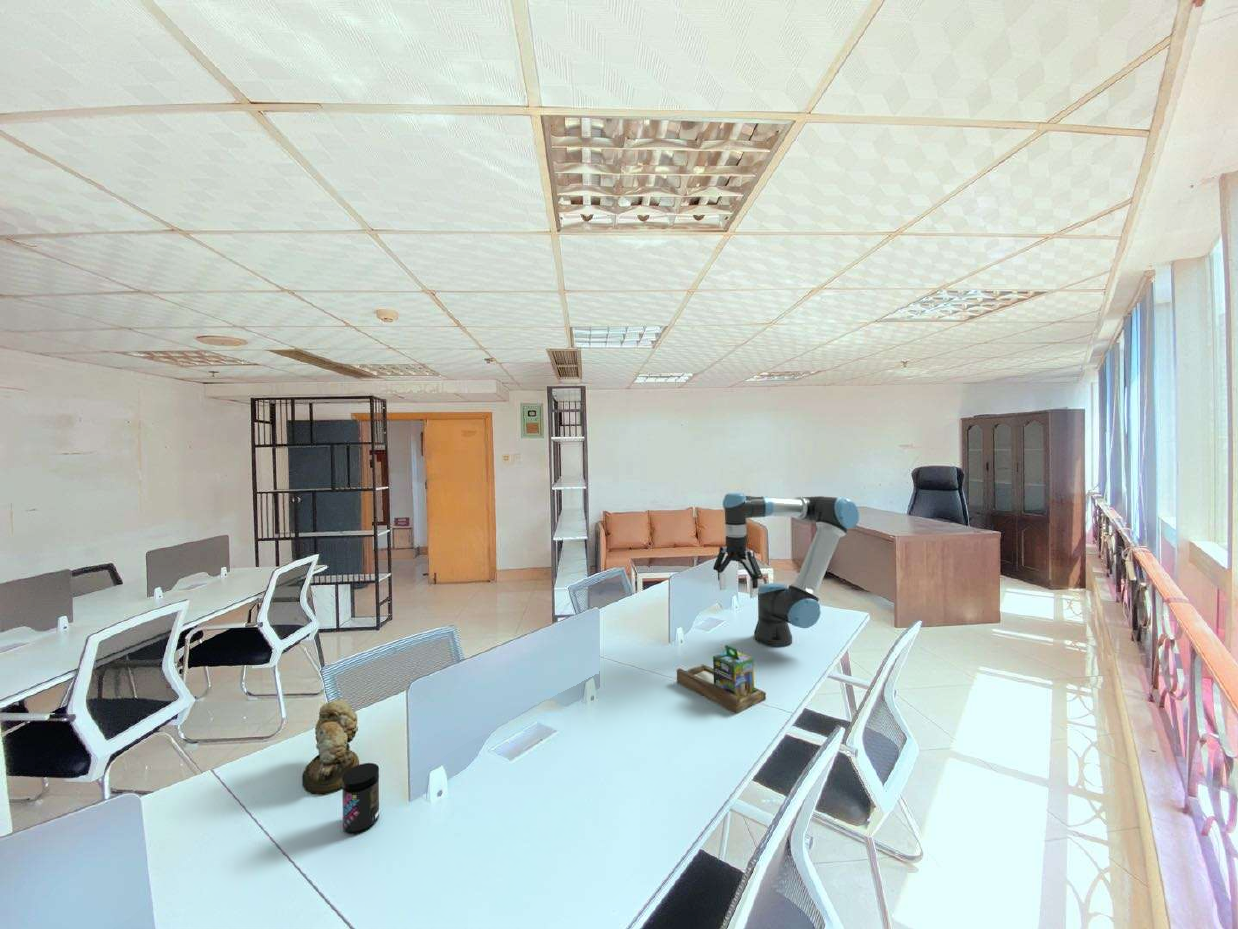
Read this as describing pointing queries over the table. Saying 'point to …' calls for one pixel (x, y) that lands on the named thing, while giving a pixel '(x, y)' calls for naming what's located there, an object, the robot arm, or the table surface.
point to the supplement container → (360, 798)
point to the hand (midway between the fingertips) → (737, 593)
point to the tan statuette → (332, 748)
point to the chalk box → (734, 672)
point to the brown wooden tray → (716, 689)
